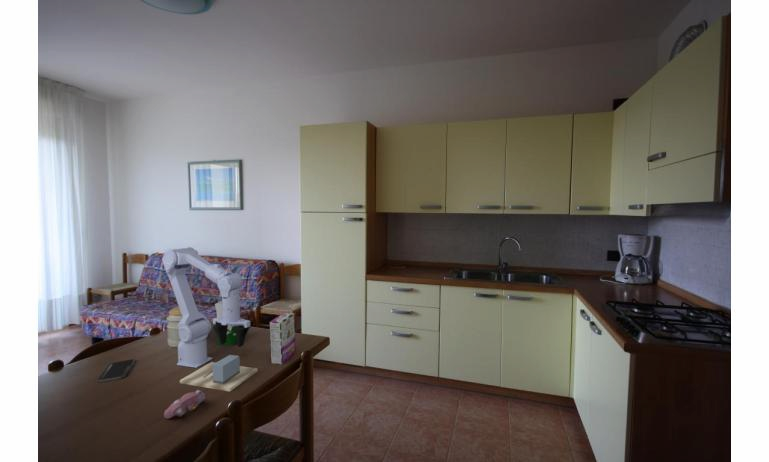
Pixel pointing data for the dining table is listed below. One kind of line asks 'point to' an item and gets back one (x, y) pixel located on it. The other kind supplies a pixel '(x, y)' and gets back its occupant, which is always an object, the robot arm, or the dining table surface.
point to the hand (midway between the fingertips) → (232, 344)
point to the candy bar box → (282, 338)
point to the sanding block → (226, 369)
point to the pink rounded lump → (184, 404)
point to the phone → (116, 370)
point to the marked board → (205, 378)
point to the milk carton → (230, 330)
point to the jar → (174, 326)
